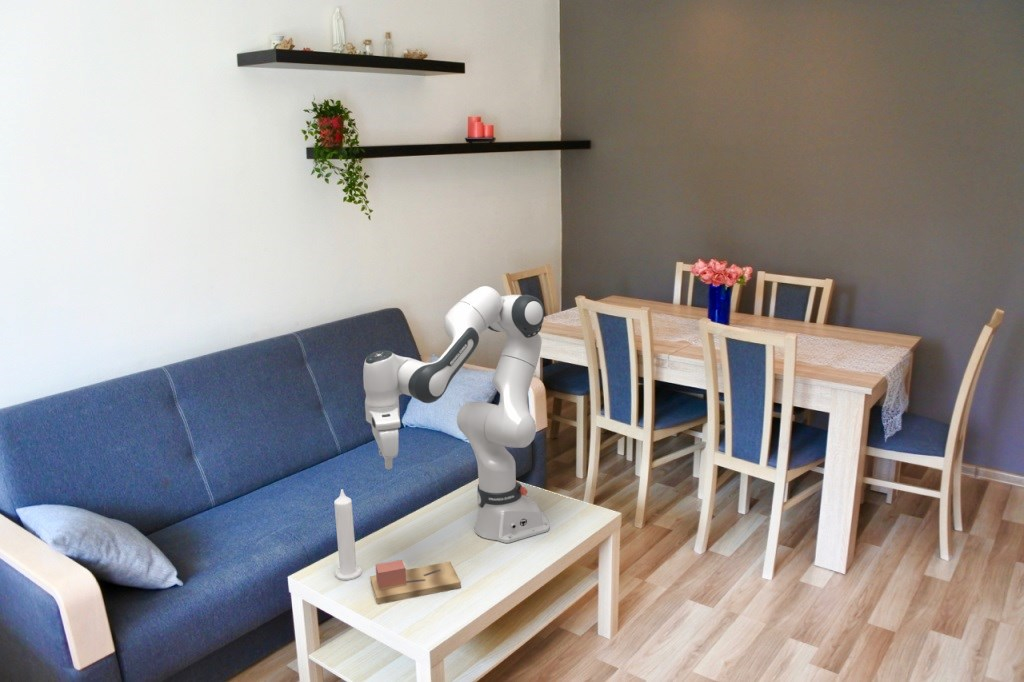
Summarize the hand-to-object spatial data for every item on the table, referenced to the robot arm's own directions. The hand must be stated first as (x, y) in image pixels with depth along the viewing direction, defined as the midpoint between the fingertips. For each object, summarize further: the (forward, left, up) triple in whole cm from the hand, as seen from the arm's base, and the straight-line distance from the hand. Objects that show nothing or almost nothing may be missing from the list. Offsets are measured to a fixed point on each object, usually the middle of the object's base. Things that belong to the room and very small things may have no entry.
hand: (385, 461), depth 217 cm
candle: (+12, 0, -31) cm, 34 cm away
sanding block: (+2, +12, -29) cm, 32 cm away
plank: (-4, +12, -31) cm, 34 cm away
